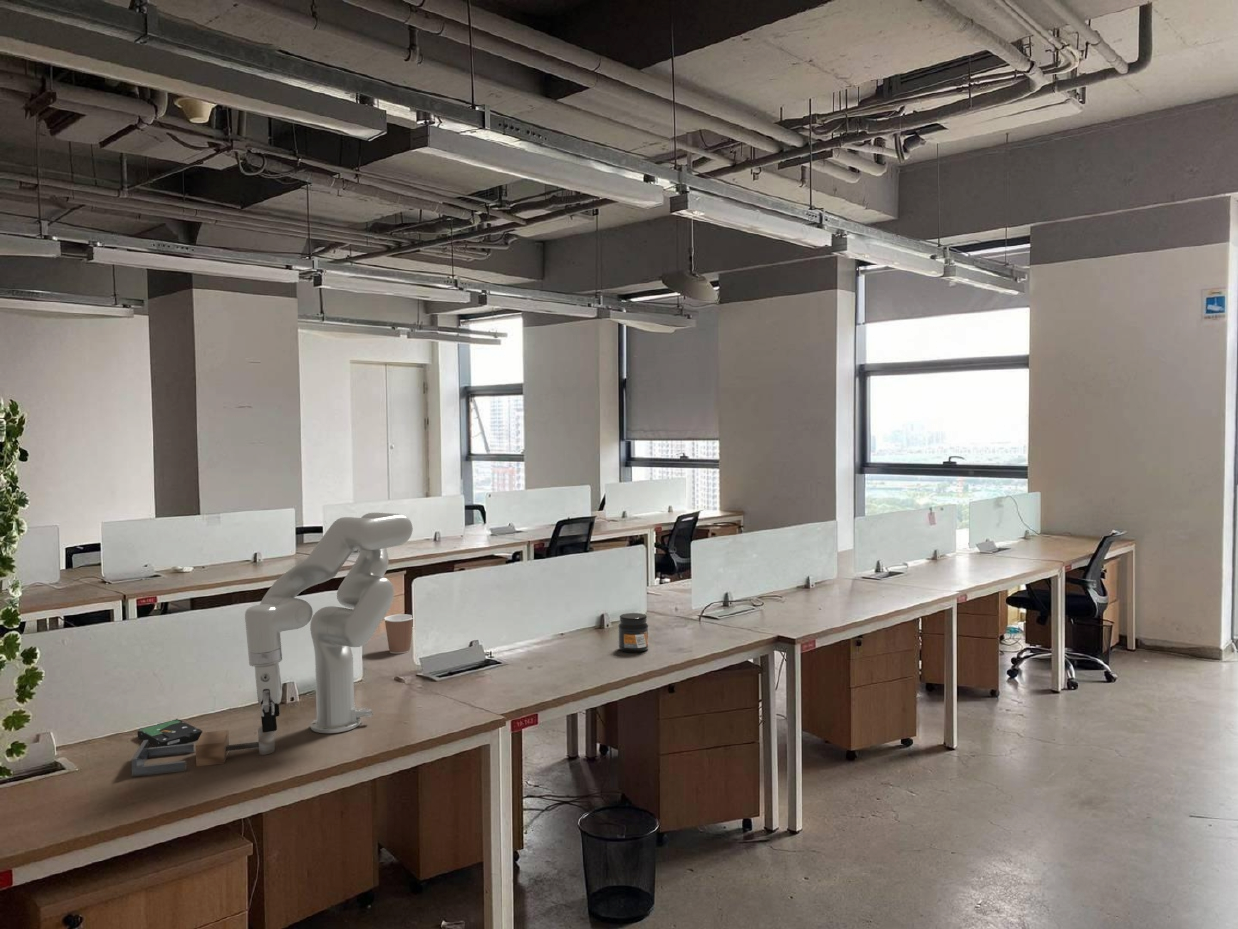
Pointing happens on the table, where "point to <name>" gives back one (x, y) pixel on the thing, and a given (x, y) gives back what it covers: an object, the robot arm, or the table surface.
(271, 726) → the robot arm
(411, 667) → the table surface
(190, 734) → the disk drive
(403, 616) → the coffee cup
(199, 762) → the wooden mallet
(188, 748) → the grey u-shaped frame
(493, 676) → the table surface
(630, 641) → the supplement container
